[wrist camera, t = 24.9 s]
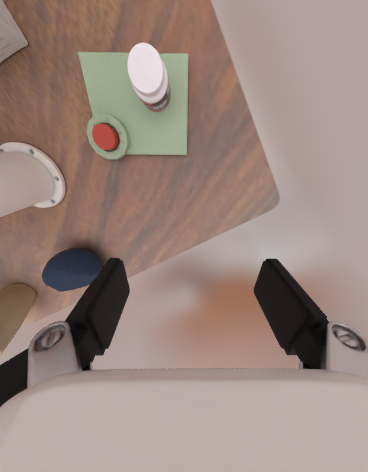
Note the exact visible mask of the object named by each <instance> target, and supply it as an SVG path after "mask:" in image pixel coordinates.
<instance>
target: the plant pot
mask: <svg viewBox="0 0 368 472" xmlns="http://www.w3.org/2000/svg"><path fill="white" fill-rule="evenodd" d="M35 298H36V292H35V290H34V289H33V288H31V287H30V286H28V285H25V284H20V283H16V284H12V285H10V286H8V287H5V288H3V289H0V355H1V354H2V352H3V351H4V350H5V348H6V347H7V345H8V344H9V343H10V341H11V340H12V338H13V337H14V335H15V334H16V332H17V331H18V329H19V328H20V326H21V325H22V323H23V321H24V320H25V318H26V316H27V314H28V312H29V310H30V308H31V306H32V304H33V302H34V300H35Z"/></svg>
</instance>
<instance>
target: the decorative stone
mask: <svg viewBox="0 0 368 472" xmlns="http://www.w3.org/2000/svg"><path fill="white" fill-rule="evenodd" d="M102 268H103V266H102V264H101V261H100V260H99V258H98V257H97V256H96V255H95V254H94V253H92V252H91V251H88V250H85V249H81V248H72V249H68V250H64V251H62V252H60V253H58V254H56V255H55V256H54V257H53V258H51V259H50V260H49V261H48V262H47V264H46V266H45V268H44V270H43V274H42V278H43V281H44V283H45V284H46V285H48V286H51V287H52V288H54V289H56V290H57V291H67V290H73V289H76V288H81V287H84V286H87V285H89V284H91V282H92V281H93V280H94V279H96V277H97V276H98V274H99V273H100V271H101V270H102Z"/></svg>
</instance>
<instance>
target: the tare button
mask: <svg viewBox="0 0 368 472" xmlns="http://www.w3.org/2000/svg"><path fill="white" fill-rule="evenodd" d="M92 137H93V140H94V142H95V143H96V145H97V146H98V147H100V148H101V149H103V150H113V149H115V148H116V147H117V146H118V143H119V138H118V134H117V132H116V131H115V130H114V129H113V128H112V127H111V126H109V125H106V124H102V123H99V124H96V125H95V126H94V128H93V130H92Z"/></svg>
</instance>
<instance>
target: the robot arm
mask: <svg viewBox="0 0 368 472" xmlns="http://www.w3.org/2000/svg"><path fill="white" fill-rule="evenodd" d="M65 191H66V187H65V181H64V178H63V175H62V173H61V171H60V170H59V168H58V167H57V165H56V164H55V163H54V162H53V161H52V159H51V158H50V157H48V156H47V155H46V154H45V153H44V152H42V151H41V150H39V149H38V148H36V147H33V146H31V145H29V144H25V143H19V142H8V143H4V144H2V145H1V146H0V217H3V216H5V215H8V214H11V213H13V212H16V211H19V210H21V209H24V208H27V207H29V206H35V207H40V208H48V207H52V206H55V205H57V204H58V203H60V202H61V201H62V199H63V198H64V195H65ZM129 291H130V290H129V284H128V280H127V276H126V272H125V268H124V264H123V261H122V260H120V259H119V258H110V259H109V260H108V261H107V262H106V264H105V265H104V267H103V268H102V270H101V271H100V273H99V274H98V276H97V277H96V279H94V280H93V281H92V282H91V284H90V285H89V287H88V288H87V290H86V291H85V293H84V294H83V295H82V297H81V298H80V300H79V301H78V303H77V304H76V306H75V307H74V309H73V310H72V312H71V313H70V314H69V316H68V317H67V319H66V320H65V321H58V322H54V323H52V324H49V325H48V326H46V327H44V328H43V329H42V330H41V331H39V332H38V333H37V334H36V336H35V337H34V338H33V339H32V341H31V343H30V345H29V348H28V349H26V350H25V351H23V352H21V353H20V354H18V355H16V356H15V357H13V358H11V359H10V360H9V361H6V362H5V363H3V364H2V365H0V472H368V342H367V340H366V339H365V338H364V337H363V336H362V335H361V334H360V333H359V332H358V331H356V330H355V329H354V328H352V327H350V326H348V325H347V324H344V323H341V322H337V321H331V322H329V321H328V320H327V319H326V318H327V316H326V315H325V314H324V313H323V312H322V311H321V310H320V308H319V307H318V306H317V305H316V304H315V302H313V300H312V299H311V298H310V297H309V295H308V294H307V293H306V292H305V291H304V290H303V289H302V288H301V286H300V285H299V284H298V283H297V282H296V280H295V279H294V278H293V277H292V276H291V275H290V273H289V272H288V271H287V270H286V269H285V268H284V267H283V265H282V264H281V263H280V262H279V261H278V260H277V259H266V261H264V262H263V264H262V267H261V270H260V272H259V275H258V278H257V281H256V284H255V287H254V294H255V296H256V298H257V300H258V302H259V304H260V306H261V308H262V310H263V312H264V314H265V316H266V318H267V320H268V322H269V325H270V326H271V328H272V331H273V333H274V335H275V337H276V339H277V341H278V343H279V345H280V346H281V348H283V349H284V350H285V352H286V354H287V355H297V356H298V357H299V359H300V365H299V369H113V370H112V369H111V370H93V366H92V362H93V360H94V357H95V355H103V354H104V352H105V349H108V348H109V346H110V343H111V340H112V338H113V335H114V332H115V330H116V327H117V325H118V322H119V319H120V317H121V314H122V311H123V308H124V306H125V303H126V300H127V298H128V295H129Z"/></svg>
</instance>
